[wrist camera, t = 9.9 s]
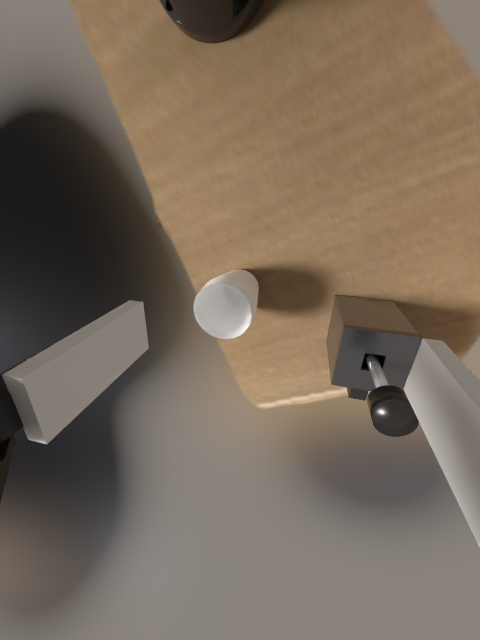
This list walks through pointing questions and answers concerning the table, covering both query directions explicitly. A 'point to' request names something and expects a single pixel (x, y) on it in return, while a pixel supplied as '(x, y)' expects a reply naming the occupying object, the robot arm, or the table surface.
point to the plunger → (389, 404)
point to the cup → (227, 304)
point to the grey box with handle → (369, 343)
